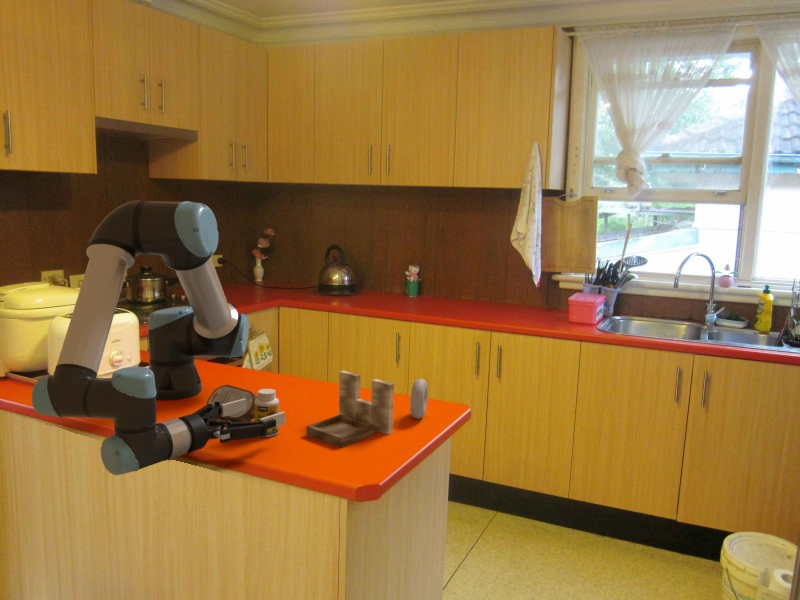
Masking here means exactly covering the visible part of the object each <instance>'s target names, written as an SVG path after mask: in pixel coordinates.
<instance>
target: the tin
mask: <svg viewBox="0 0 800 600" xmlns="http://www.w3.org/2000/svg"><path fill="white" fill-rule="evenodd" d="M244 398H245V399H246V405H247V410H245V411H242V412H238V413H235V414H232V415H228V416H225V417H222V416H221V414H220V416H219V418H218V419H219V420H230V421H231V422H244V421H253V420H254V401H255V400H256V399H257V398H258V395H257V394H255V393H254V392H253V391H250V390H248V389H243V388H241V387H236V386H233V385H230V384H224V385H221V386H219V387H217V388H215V389H214V390H213V392H212V393H211V395H210V396H209V397H208V398H207V401H206V405H207V404H213V406H214V402H220V406H221V405H222V404H226V403H229V402H233V401H237V400H240V399H244Z"/></svg>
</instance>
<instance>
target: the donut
mask: <svg viewBox="0 0 800 600" xmlns="http://www.w3.org/2000/svg"><path fill="white" fill-rule="evenodd" d="M428 388H429V387H428V382H427V381H426V380H425V379H424V378H418V379H416V380H414V382H413V384H412V388H411V393H410V403H409V404H410V405H409V406H410V407H409V409H410V413H411V414H410V415H411V416H412V417H413V418H414V419H422V418H423V417H424V415H425V413H426V410H427V404H428V396H429V395H428V393H429V392H428V391H429V390H428Z"/></svg>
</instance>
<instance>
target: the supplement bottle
mask: <svg viewBox="0 0 800 600" xmlns="http://www.w3.org/2000/svg"><path fill="white" fill-rule="evenodd" d="M276 396H277V395H276V390H275V389H272V388H262V389H259V390H258V391H257V397H258V398H257V399H256V400H255V401H254V418H253V421H260V419H261V418H264V417H267V416H271V415H274V414H277V413H280V400H279V398H278V397H276ZM279 428H280V426H278V427H275V428H272V429H269V430H267V436H265V437H264V438H271V437H275V436H276V435H277V434H279V430H280V429H279Z"/></svg>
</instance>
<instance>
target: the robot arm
mask: <svg viewBox="0 0 800 600" xmlns="http://www.w3.org/2000/svg"><path fill="white" fill-rule="evenodd" d="M216 219H217V218H216V216H215V213H214V212H213V211H212V209H211V208H210V207H209V206H207V204H204V203H202V202H193V201H188V200H184V201H163V200H162V201H161V200H160V201H158V200H156V201H155V200H154V201H153V200H151V201H149V200H148V201H147V200H131V201H129V202H126V203H124V204H121V205H119V206H117V207H116V208H115V209H113V210H112V211H110V212H109V213H108V214H107V215H106V216H105V217H104V218H103V219H102V221H100V223H99V224H98V226H97V227H96V228H95V230H94V231H93V233H92V234H91V237H90V238H89V241H88V245H87V247H86V252H85V254H86V256H87V257H88V258H89V260H88V262H87V267H86V269H85V272H84V275H83V279H82V282H81V285H80V289H79V292H78V295H77V299H76V301H75V305H74V308H73V311H72V314H71V318H70V321H69V323H68V328H67V330H66V334H65V337H64V340H63V343H62V346H61V349H60V353H59V356H58V360H57V362H56V365H55V368H54V372H53V375H47V376H42V377H39V379H38V380H37V382H36V383H35V384H34V385H33V388H32V390H31V404H32V408H33V409H34V411H35V412H36V413H37V414H38V415H41V416H47V417H57V418H92V419H108V420H110V419H113V423H114V424H113V426H114V428H113V429H114V434H111V435H110V436H107V437H106V438H103V441H102V442H101V446H100V457H101V461H102V464H103V466H104V469H106V470H107V471H108V473H110V474H111V475H114V476H122V475H124V474H128V473H132V472H138V471H139V470H141V469H144V468H147V467H150V466H153V465H156V464H159V463H160V462H161V463H163V462H165V461H172V460H173V459H174V458H178V457H180V456H184V455H185V454H190V453H194V452H196V451H199V450H203V449H204V448H205V446H206V445H207V443H208V442H209V440H216V439H219V443H220V444H226V443H229V442H232V441H241V440H248V439H254V438H255V439H257V438H266V437H265V436H267V430H269V429H272V428H275V427H278V426H279V427H280V426H281V427H282V426H284V425H286V412H285V411H279V413H277V414H274V415H271V416H267V417H264V418H261V419H260V421H254V420H251V421H244V422H231V421H230V420H221V419H218V418H219V416H220V414H221V416H222V417H225V416H228V415H232V414H235V413H238V412H242V411H245V410H247V405H246V399H245V398H244V399H240V400H237V401H233V402H229V403H226V404H222V405H221V406H220V402H214V406H213V404H207V403H206V405H204V406H202V407H201V408H199V409H198V410H195V411H194V412H192V413H190V414H186V415H183V416H179V417H174V418H170V419H167V420H164V421H160V422H158V423H157V420H158V419H157V400H159V401H160V400H161V401H163V400H164V401H169V400H181V399H185V398H186V399H187V398H190V397H194V396H197V395H198V394H200V393H201V392H202V390H203V389H202V387H203V386H202V384H203V383H202V380H201V377H200V374H199V371H198V369H197V366H196V364H195V363H196V362H195V357H219V358H239V357H242V356H243V355H244V353H245V352H246V348H247V344H248V338H249V330H250V320H249V316H248V315H247V314H244V313H238V310H237V309H236V308H235V307H234V305H232V304H231V303H229V302H228V301H227V297H226V295H225V293H224V289H223V286H222V284H221V280H220V278H219V276H218V273H217V269H216V267H215V265H214V262H213V259H212V257H213V255H214V253H215V252H216V250H217V248H218V246H219V245H218V244H219V236H220V235H219V230H218V223H217V222H218V221H217V220H216ZM139 255H151V256H152V255H153V256H155V255H156V256H161V260H162V262H163V263H164V264H165V266H166V267H167V268H169V269H171V270H172V271H175V274H176V276H177V278H178V280H179V283H180V285H181V287H182V289H183V291H184V293H185V295H186V298H187V300H188V302H189V303H188V304H189V305H190V306H187V305H186V306H174V307H168V308H161V309H159V310H156V311H153V312H151V313H150V314H149V315H148V320H147V333H148V334H147V335H148V355H149V357H148V359H149V360H148V361H149V365H148V366H149V367H145V366H132V367H130V366H129V367H128V366H127V367H123V368H119V369H117V370H115V371H114V372H113V373H112V376H111V378H106V377H105V378H103V377H98V372H99V369H100V365H101V363H102V360H103V359H102V358H103V354H104V352H105V351H104V350H105V347H106V344H107V341H108V338H109V334H110V330H111V328H112V324H113V319H114V316H115V314H116V311H117V310H116V309H117V306H118V302H119V299H120V296H121V295H120V294H121V292H122V288H123V285H124V281H125V278H126V274H127V271H128V269H129V268H132V267H133V266H134V265H135V261H136V259H137V256H139Z"/></svg>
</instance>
